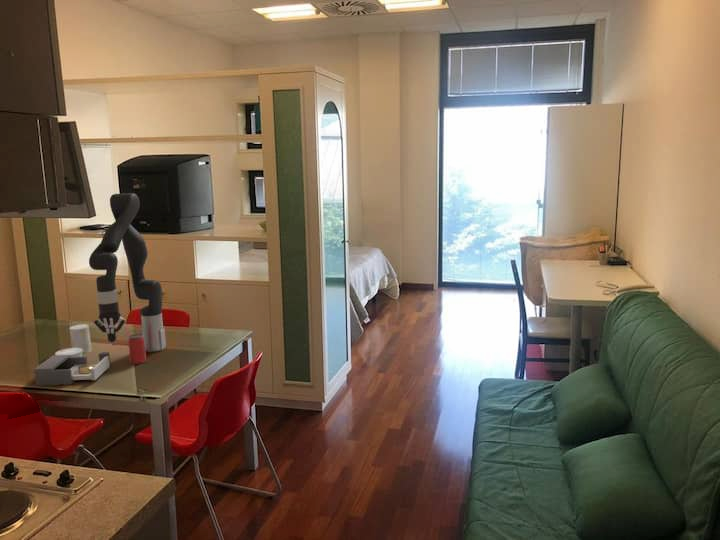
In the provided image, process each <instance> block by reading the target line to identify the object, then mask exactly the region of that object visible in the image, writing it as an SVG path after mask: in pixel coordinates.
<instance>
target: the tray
mask: <svg viewBox="0 0 720 540" xmlns="http://www.w3.org/2000/svg"><path fill="white" fill-rule="evenodd" d="M110 363H111V362H110ZM110 363H109V356H106V357H104V358H103V359H102V360H101V361H100V362H99V361H98V363H90V364H88V363H87V364H84V365H94V367H93V368H92V369H91V373H90V374H79V373H78V368H79V367H80V366H83V365H74V366H73V367H72V368H70V369H71V374H72V380H76V381H81V380H84V381H85V380H87V381H88V380H91V381H96V380H97V379H99V377H101V376H102V374H103V373H105V371H106V370H108V369H109V368H110V366H111V364H110Z"/></svg>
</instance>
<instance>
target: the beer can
mask: <svg viewBox="0 0 720 540" xmlns="http://www.w3.org/2000/svg"><path fill="white" fill-rule="evenodd" d="M128 348H129V349H128V351H129V359H130V363H131V364H134V365H137V364H138V365H139V364H142V363H145V362H146V361H147V351H145V341H144V338H143V333H142V334H141V333H136V334H131V335H129V337H128Z"/></svg>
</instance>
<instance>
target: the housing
mask: <svg viewBox="0 0 720 540" xmlns="http://www.w3.org/2000/svg"><path fill="white" fill-rule="evenodd" d="M84 364H88V359H87V356H82V357H70V355H55V354H54V355H51V356H50V357H48V358H47V359H46V360H45V361H43V362H42V363H40V364H39V365H38V366H36V367H35V368H34V369H33V370H34V376H35V378H34V379H35V384H36V386H57V385H58V386H59V384H64V385H73V384H74V383H75V382H76V381H77V380H72V374H71V369H70V368H72V367H73V366H74V365H84Z"/></svg>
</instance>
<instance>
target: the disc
mask: <svg viewBox="0 0 720 540" xmlns="http://www.w3.org/2000/svg"><path fill="white" fill-rule="evenodd" d="M93 367H94V365H83V366H80V367H79V368H78V373H79V374H90V373H91V369H92V368H93Z"/></svg>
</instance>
